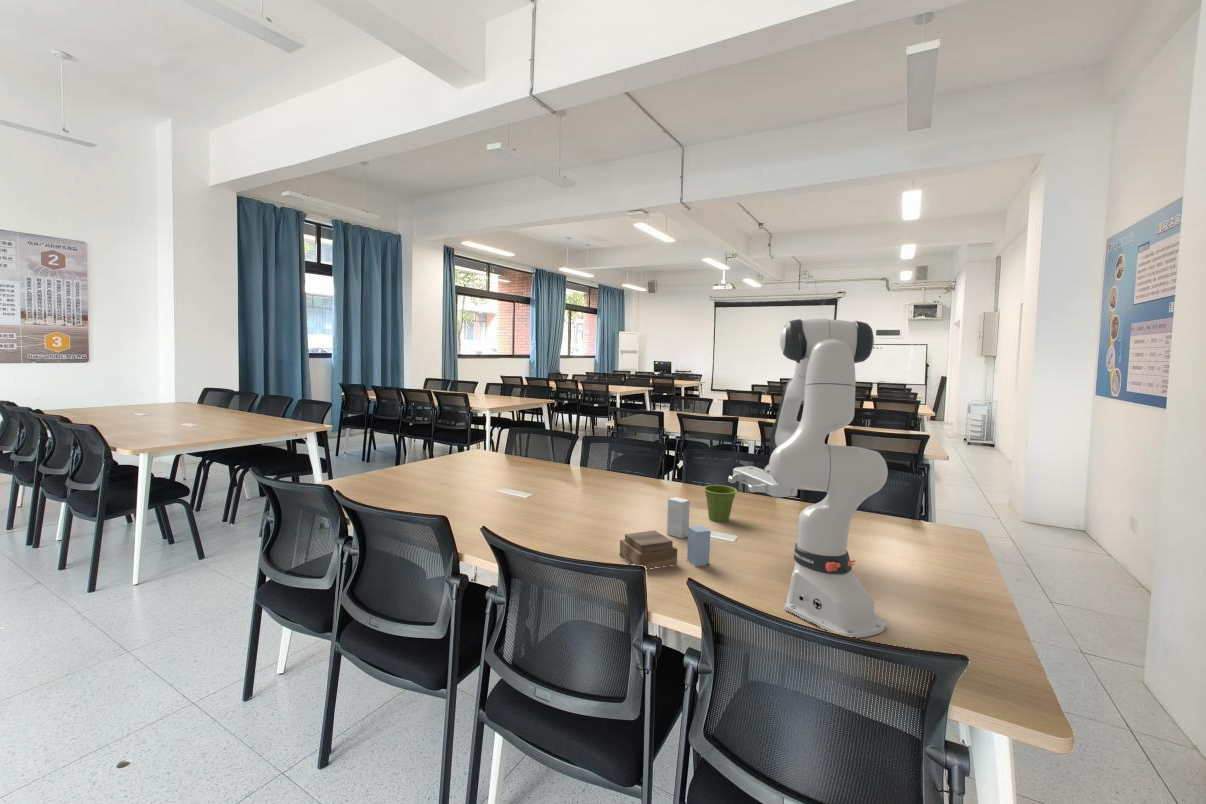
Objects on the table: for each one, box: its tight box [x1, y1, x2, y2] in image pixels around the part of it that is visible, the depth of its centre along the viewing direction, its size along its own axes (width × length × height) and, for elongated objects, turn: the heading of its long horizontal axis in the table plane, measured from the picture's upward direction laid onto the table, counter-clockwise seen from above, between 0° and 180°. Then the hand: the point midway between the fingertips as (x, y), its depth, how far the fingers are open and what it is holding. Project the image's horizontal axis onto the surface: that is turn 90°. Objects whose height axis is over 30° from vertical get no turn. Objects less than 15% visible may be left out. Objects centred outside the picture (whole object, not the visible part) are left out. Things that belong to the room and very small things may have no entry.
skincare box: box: [666, 496, 691, 539], centre depth 179 cm, size 6×4×12 cm
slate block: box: [686, 525, 711, 567], centre depth 156 cm, size 4×4×10 cm
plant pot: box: [703, 484, 738, 523], centre depth 197 cm, size 12×12×11 cm
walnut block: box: [619, 530, 678, 570], centre depth 157 cm, size 12×12×7 cm
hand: (739, 484), depth 159 cm, fingers open, 8 cm apart
